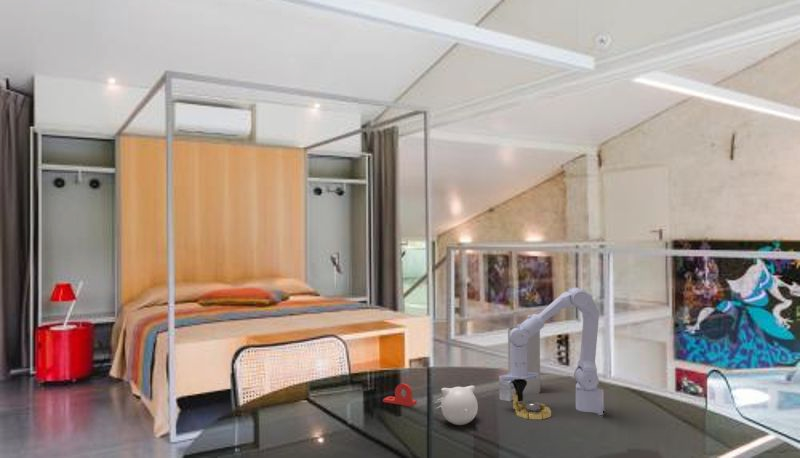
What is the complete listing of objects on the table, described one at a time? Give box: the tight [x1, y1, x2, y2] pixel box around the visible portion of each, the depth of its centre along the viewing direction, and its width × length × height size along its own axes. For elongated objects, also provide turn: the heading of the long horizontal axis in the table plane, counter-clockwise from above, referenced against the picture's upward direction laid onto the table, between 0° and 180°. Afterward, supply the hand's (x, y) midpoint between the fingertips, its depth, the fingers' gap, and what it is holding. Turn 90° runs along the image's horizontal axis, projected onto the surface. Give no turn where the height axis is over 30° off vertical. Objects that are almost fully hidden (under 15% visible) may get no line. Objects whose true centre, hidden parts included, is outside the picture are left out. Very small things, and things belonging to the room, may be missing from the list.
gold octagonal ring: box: [512, 393, 552, 420], centre depth 194 cm, size 14×12×5 cm
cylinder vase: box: [507, 326, 541, 395], centre depth 225 cm, size 12×12×25 cm
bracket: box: [382, 382, 418, 407], centre depth 212 cm, size 12×4×8 cm, turn 61°
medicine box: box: [498, 380, 516, 402], centre depth 211 cm, size 8×4×9 cm, turn 143°
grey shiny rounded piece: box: [525, 400, 541, 413], centre depth 193 cm, size 18×18×5 cm
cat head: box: [435, 385, 479, 426], centre depth 187 cm, size 15×13×12 cm
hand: (519, 400), depth 199 cm, fingers closed, pressing on gold octagonal ring
